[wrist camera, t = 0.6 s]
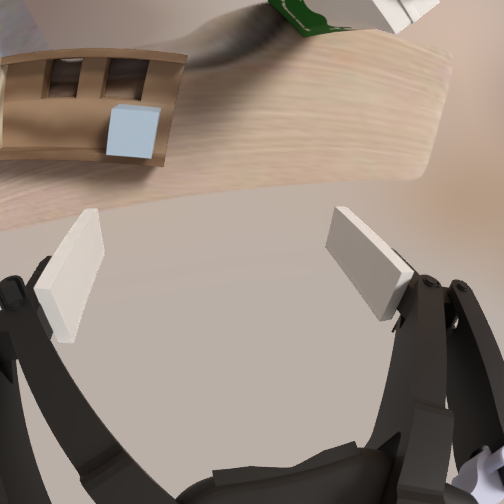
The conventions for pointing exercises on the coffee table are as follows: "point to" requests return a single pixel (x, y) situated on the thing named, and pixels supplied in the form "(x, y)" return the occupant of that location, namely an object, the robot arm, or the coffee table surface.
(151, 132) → the blue block
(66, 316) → the robot arm
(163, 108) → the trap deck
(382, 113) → the coffee table surface
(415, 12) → the milk carton
